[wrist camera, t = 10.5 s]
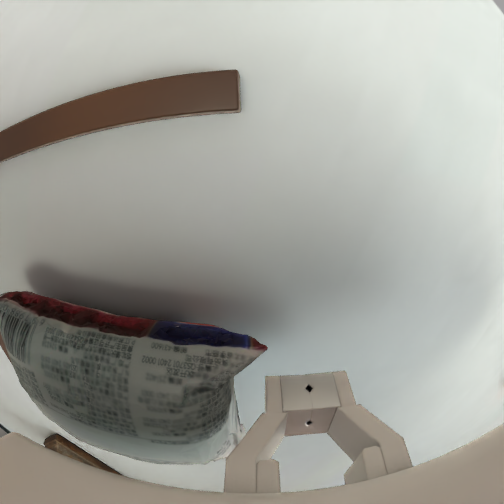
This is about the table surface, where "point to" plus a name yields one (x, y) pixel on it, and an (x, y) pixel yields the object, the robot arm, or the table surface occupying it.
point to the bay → (125, 111)
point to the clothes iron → (74, 452)
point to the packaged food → (129, 378)
